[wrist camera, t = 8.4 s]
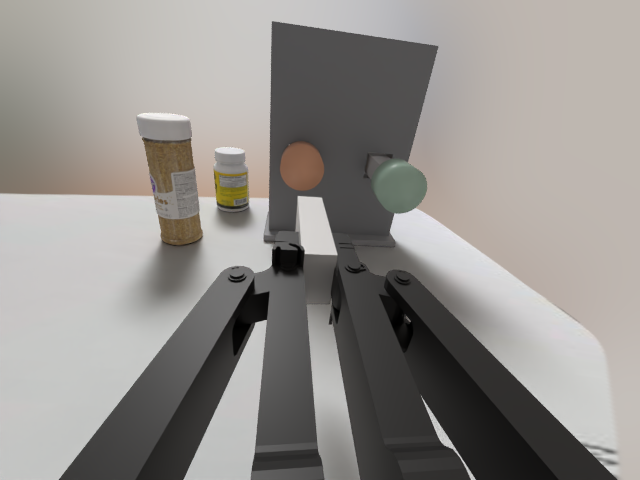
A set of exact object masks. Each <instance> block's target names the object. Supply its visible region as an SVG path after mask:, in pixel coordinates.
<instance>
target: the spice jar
mask: <svg viewBox="0 0 640 480" xmlns="http://www.w3.org/2000/svg"><path fill="white" fill-rule="evenodd" d="M137 123H138V129H139V133H140V136H142V137H143V138H142V140H143V141H144V145H145V150H146V156H147V161H148V166H149V171H150V172H149V174H150V178H151V184H152V189H153V194H154V199H155V205H156V210H157V214H158V218H159V223H160V228H161V238H162V240H163V241H164V242H166V243H168V244H172V245H184V244H188V243H192V242H194V241H197V240H198V239H200V238H201V237H202V234H203V232H202V229H201V225H200V216H199V201H198V192H197V183H196V175H195V167H194V164H193V156H192V147H191V137H192V132H191V124H190V120H189V118H188V117H185V116H182V115H177V114H169V113H143V114H139V115H138V116H137Z"/></svg>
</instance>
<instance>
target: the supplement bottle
mask: <svg viewBox="0 0 640 480" xmlns="http://www.w3.org/2000/svg"><path fill="white" fill-rule="evenodd" d="M215 159H216V161H217V163H215V165H214V178H215V189H216V200H217V206H218V208H219V209H221V210H223V211H227V212H239V211H243V210H245V209H247V208H248V206H249V188H248V187H249V186H248V167H247V165H246V164H245V163H244V162H245V151H244V150H242V149H239V148H232V147H231V148H230V147H222V148H217V149H215Z"/></svg>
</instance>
